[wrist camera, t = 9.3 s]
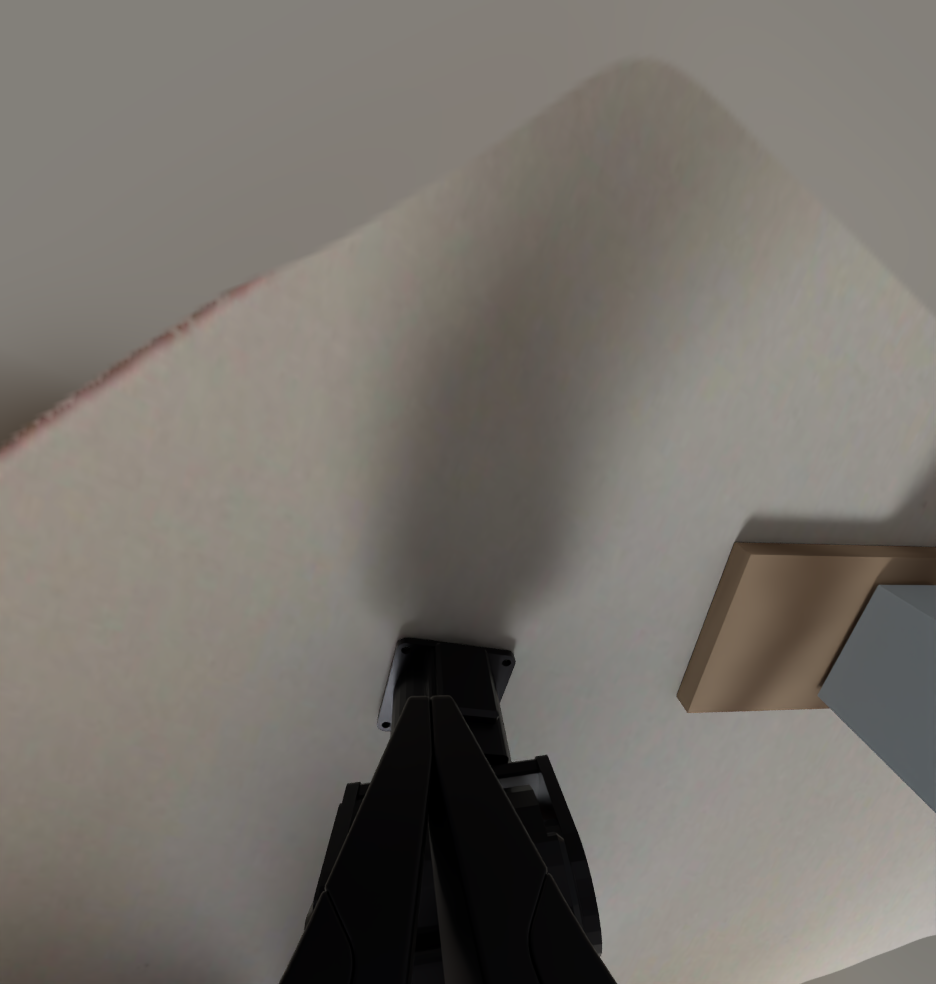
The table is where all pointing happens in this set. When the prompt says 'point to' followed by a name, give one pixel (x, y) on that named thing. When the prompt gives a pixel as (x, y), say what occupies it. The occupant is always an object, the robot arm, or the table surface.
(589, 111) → the table surface
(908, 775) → the block
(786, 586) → the press bed
